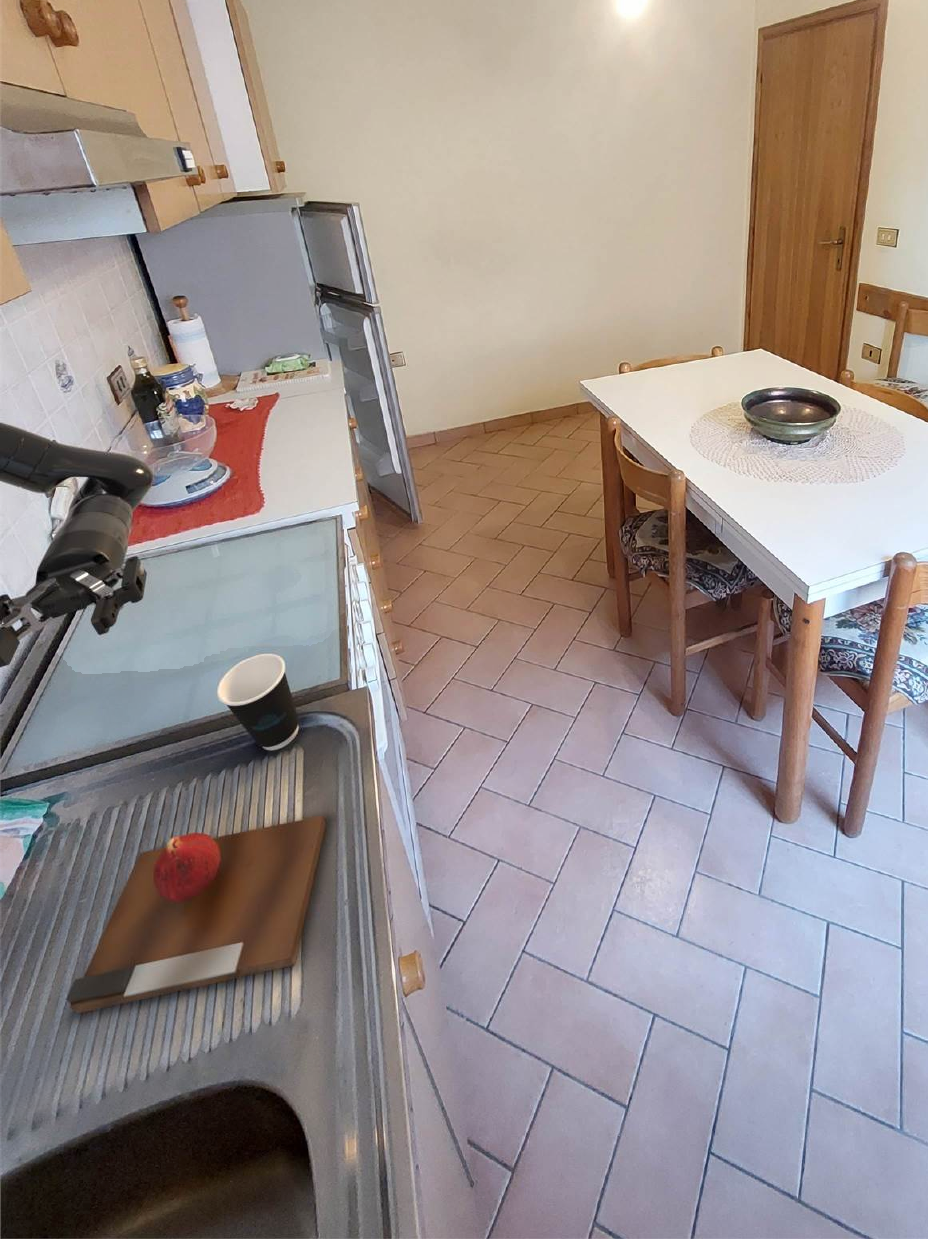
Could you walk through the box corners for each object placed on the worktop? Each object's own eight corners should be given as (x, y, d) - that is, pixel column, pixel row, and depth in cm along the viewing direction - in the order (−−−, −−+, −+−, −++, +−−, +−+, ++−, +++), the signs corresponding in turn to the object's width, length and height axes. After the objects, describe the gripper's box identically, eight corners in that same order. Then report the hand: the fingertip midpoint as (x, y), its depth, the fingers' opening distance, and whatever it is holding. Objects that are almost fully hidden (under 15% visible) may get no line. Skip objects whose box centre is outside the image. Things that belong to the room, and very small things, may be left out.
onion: (234, 892, 67) (204, 849, 63) (172, 929, 64) (137, 887, 60) (227, 846, 71) (200, 803, 67) (169, 879, 69) (137, 837, 65)
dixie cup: (277, 770, 81) (246, 712, 75) (234, 750, 84) (202, 693, 79) (323, 719, 87) (298, 662, 82) (282, 702, 90) (255, 646, 85)
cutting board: (75, 1017, 60) (62, 1005, 59) (145, 860, 72) (136, 847, 71) (294, 968, 62) (286, 955, 61) (326, 823, 74) (319, 810, 73)
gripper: (165, 559, 81) (145, 644, 68) (32, 599, 77) (-17, 698, 63) (140, 511, 78) (113, 591, 65) (-2, 550, 73) (-61, 644, 60)
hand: (49, 644), depth 64 cm, fingers open, 8 cm apart
